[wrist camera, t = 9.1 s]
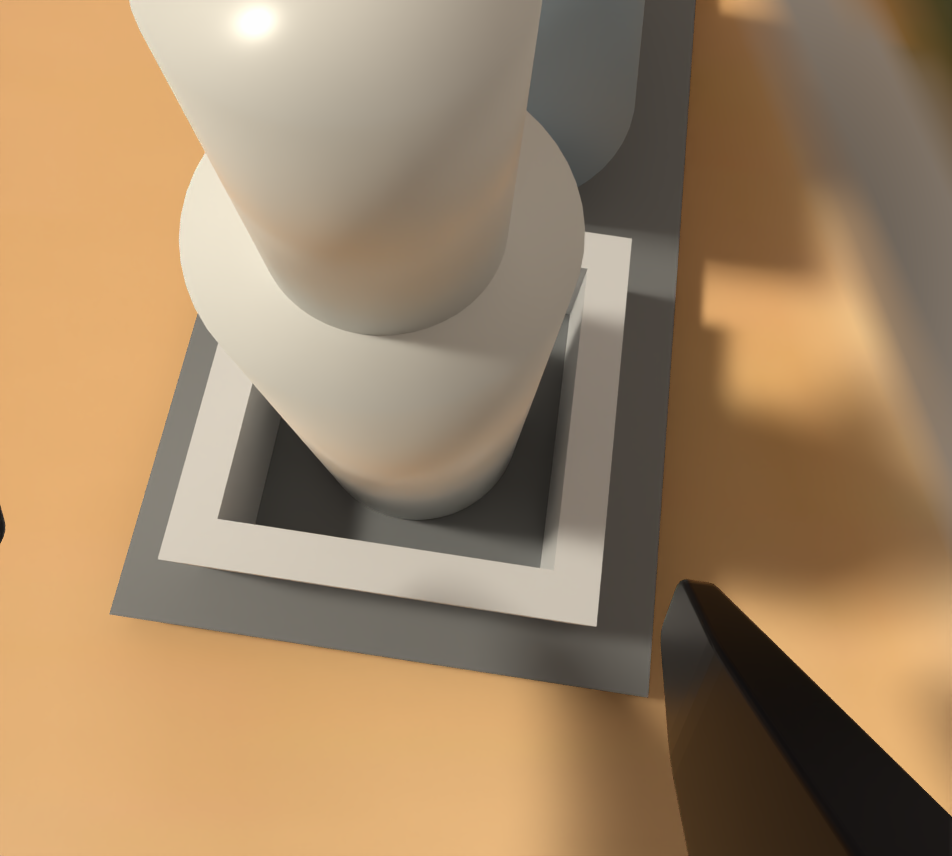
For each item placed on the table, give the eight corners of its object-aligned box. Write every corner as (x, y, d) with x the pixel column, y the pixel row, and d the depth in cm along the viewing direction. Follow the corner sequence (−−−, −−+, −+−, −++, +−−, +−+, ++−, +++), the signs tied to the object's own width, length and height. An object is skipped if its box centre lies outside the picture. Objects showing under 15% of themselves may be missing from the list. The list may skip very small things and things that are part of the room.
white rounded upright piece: (504, 534, 16) (649, 309, 4) (300, 503, 16) (-129, 192, 4) (535, 299, 18) (699, -321, 6) (352, 272, 18) (154, -398, 6)
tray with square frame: (636, 692, 16) (933, 824, 6) (129, 614, 16) (-393, 617, 6) (689, -28, 23) (874, -533, 13) (327, -80, 23) (227, -619, 13)
